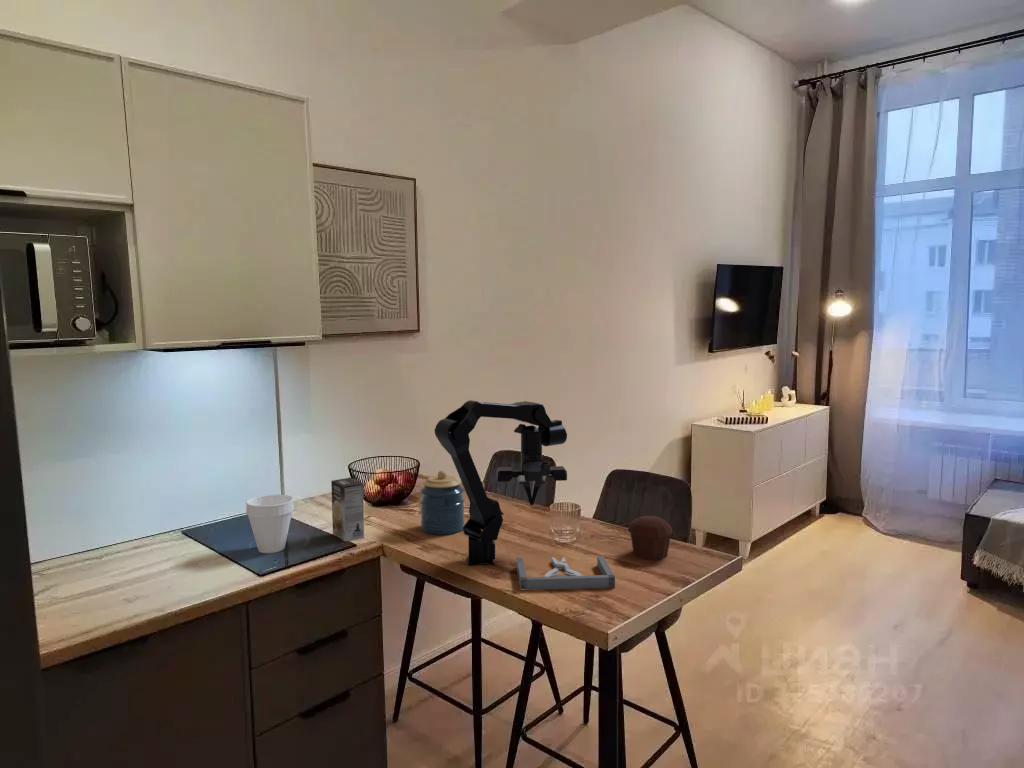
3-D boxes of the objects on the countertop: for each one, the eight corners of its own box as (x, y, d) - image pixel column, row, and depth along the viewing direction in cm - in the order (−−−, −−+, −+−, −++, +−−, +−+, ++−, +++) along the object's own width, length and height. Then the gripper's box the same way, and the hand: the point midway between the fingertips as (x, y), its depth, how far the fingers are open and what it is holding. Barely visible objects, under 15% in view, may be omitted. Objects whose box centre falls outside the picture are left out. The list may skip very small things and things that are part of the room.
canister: (416, 534, 199) (415, 475, 198) (426, 521, 212) (425, 465, 211) (460, 536, 198) (459, 476, 196) (468, 522, 211) (467, 466, 209)
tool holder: (520, 590, 158) (520, 579, 158) (516, 567, 173) (516, 557, 173) (614, 587, 160) (614, 577, 160) (603, 565, 174) (603, 555, 174)
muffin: (668, 547, 188) (668, 511, 187) (676, 561, 177) (677, 523, 176) (624, 547, 188) (624, 511, 187) (630, 561, 177) (630, 523, 176)
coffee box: (331, 534, 200) (330, 480, 199) (352, 529, 204) (350, 476, 203) (344, 542, 193) (343, 486, 191) (365, 537, 197) (364, 482, 195)
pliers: (545, 579, 162) (539, 557, 177) (545, 586, 162) (539, 563, 177) (586, 578, 162) (577, 556, 177) (586, 585, 162) (577, 562, 177)
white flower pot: (291, 539, 196) (290, 492, 194) (298, 552, 185) (296, 502, 183) (245, 545, 190) (243, 497, 189) (249, 559, 179) (247, 508, 178)
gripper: (498, 454, 176) (498, 514, 178) (570, 453, 177) (569, 512, 179) (496, 446, 187) (496, 502, 189) (564, 445, 189) (564, 501, 190)
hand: (531, 504), depth 186 cm, fingers closed
